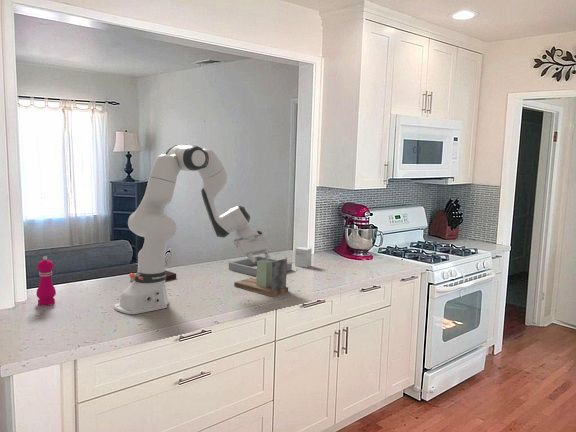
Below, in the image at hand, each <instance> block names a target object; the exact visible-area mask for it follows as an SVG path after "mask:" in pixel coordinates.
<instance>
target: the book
mask: <svg viewBox="0 0 576 432" xmlns="http://www.w3.org/2000/svg"><path fill="white" fill-rule="evenodd" d="M176 278H177V273H175V272H172V271H168V270H166V280H165V282H167V281H171V280H175V279H176ZM133 281H134V278H130V280H129V282H131V283H132V282H133Z"/></svg>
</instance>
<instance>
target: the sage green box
mask: <svg viewBox="0 0 576 432" xmlns="http://www.w3.org/2000/svg"><path fill="white" fill-rule="evenodd" d="M272 262H273V261H268V260H264V259H262V260H258V261H257V264H256V268H257V276H255V277H256V278H255V279H256V285H257V286H261V287H265V288H267V287H270V286H272Z"/></svg>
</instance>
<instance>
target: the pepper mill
mask: <svg viewBox="0 0 576 432" xmlns="http://www.w3.org/2000/svg"><path fill="white" fill-rule="evenodd" d="M36 267H37V270H38V271H39V272H38V275H39V277H40V280H39V285H38V286H37V290H36V297H37V298H38V300H37V303H38V304H39V305H38V304H37V305H38V306H41V305H48V306H51V305H50V304H52V305H54V304H55V301H56V299H55V298H54V297H55V296H56V295H57V293H56V288H55V285H54V284H53V281H52V275H53V269H54V263H53V261H52V260H50V259H48V256H46V255H45V256H43V257H42V260H40V261H39V262H38V263H37V266H36Z"/></svg>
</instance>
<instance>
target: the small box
mask: <svg viewBox="0 0 576 432" xmlns="http://www.w3.org/2000/svg"><path fill="white" fill-rule="evenodd" d="M294 251H295V252H294V266H295V267H301V268H306V269H307V268H309V267H311V266H312V248H311V247H304V246H303V247H302V246H298V247H295V249H294Z"/></svg>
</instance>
